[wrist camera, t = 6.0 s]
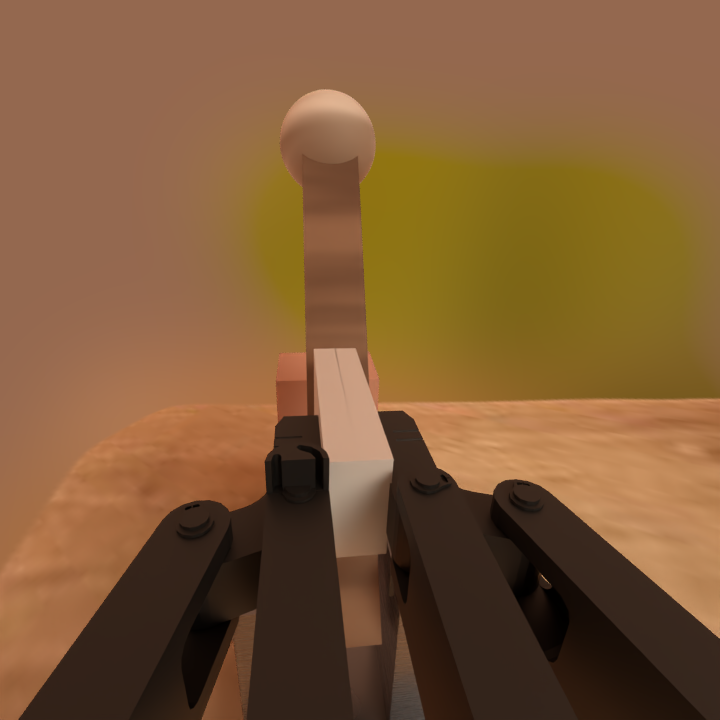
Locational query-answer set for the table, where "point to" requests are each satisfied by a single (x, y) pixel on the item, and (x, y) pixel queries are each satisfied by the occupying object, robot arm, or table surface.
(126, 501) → the table surface
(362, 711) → the press base
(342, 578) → the lever
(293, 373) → the stop block
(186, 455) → the table surface
